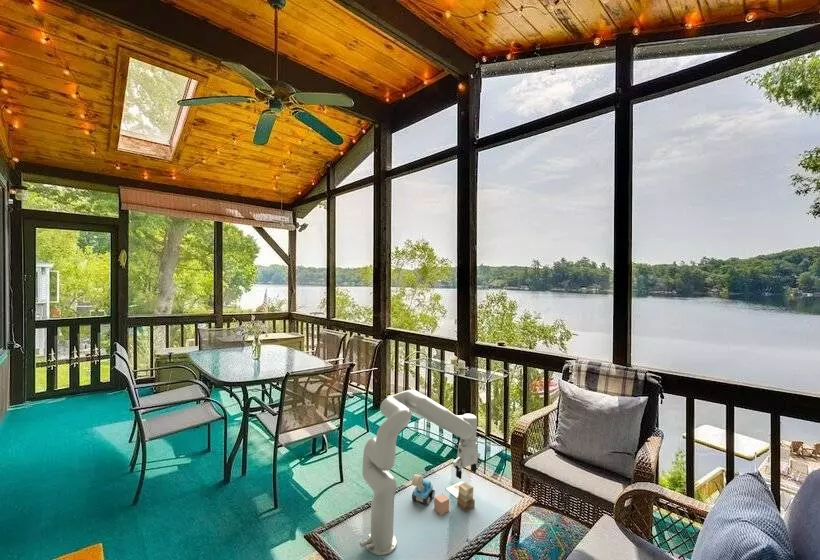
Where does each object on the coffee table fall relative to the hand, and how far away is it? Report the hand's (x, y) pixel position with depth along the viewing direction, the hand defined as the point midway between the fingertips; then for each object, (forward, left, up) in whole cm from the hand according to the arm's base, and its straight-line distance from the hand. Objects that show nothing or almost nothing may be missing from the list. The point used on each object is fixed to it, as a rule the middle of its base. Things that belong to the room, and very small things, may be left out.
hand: (466, 474), depth 184 cm
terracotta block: (-11, +4, -16) cm, 20 cm away
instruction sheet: (+7, +11, -16) cm, 20 cm away
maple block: (+1, 0, -12) cm, 12 cm away
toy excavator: (-16, +14, -16) cm, 27 cm away
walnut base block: (+1, 0, -16) cm, 16 cm away
